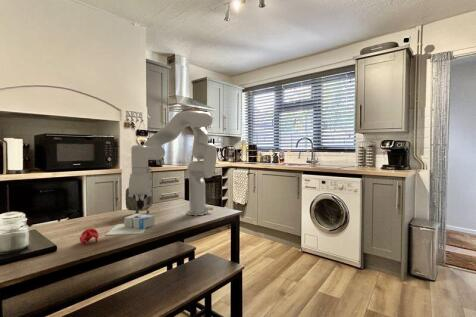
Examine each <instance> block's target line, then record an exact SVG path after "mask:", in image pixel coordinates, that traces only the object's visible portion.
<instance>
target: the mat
mask: <svg viewBox="0 0 476 317" xmlns="http://www.w3.org/2000/svg"><path fill="white" fill-rule="evenodd" d="M146 230H147V228H145V229H139V228H131V227H124V223H121V224H120V223H119V224H116V225H114V226H113V228H112V229H110V230H109V231H108V232H107V233H105V236H106V237H107V236H125V235H127V236H128V235H143V234H144V233H145V231H146Z"/></svg>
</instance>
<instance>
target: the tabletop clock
mask: <svg viewBox="0 0 476 317" xmlns="http://www.w3.org/2000/svg"><path fill="white" fill-rule="evenodd" d="M151 192H152V193H153V190H152V191H151ZM134 195H135V194H134ZM145 195H146V194H145ZM139 196H140V200H141V197H142V194H139ZM152 205H153V194H152V195H151V196H149V197H146V198H145V199H144V207H143V208H142V209H138V207H137V201H136V199H135V198H134V197H129V187H127V188H126V189H125V208H126V209H127V210H129V211H135V212H134V214H140V212H143V211H146V213H147V214H149V213H150V208H151V207H152Z"/></svg>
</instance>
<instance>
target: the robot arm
mask: <svg viewBox="0 0 476 317" xmlns="http://www.w3.org/2000/svg"><path fill="white" fill-rule="evenodd" d="M213 122H214V121H213V116H212V115H211V113H210V112H207V111H197V110H184V111H179V112H176V114H175V115H173V117H172V118H171V119H170V120H169V121H168V123H166V124H165V126H164V127H162V128H161V129H160V130H159V131H157V132H156V133H154V134H153V135H151V136H149V138H148V139H147V140H146V141H145V142H144V143H143V144H141V145H140V144H137V145H136V144H135V145H132V146H131V149H130V150H131V151H130V152H131V153H130V154H131V173H130V174H129V178H128V179H129V181H128V188H129V197H134V198H135V199H136V201H137V207H138V209H142V208H143V207H144V199H145V198H146V197H149V196H151V195H152V196H153V186H152V185H153V184H152V176H151V173H149V172H152V168H151V167H149V160H151V161H159V160H161V159H163V158H164V157H165V155H166V151H165V148H164V146H163V145H165V144H167V143H170V142H172V141H174V140H176V139H177V138H178V137H179V135H181V133H182V132H183V131H184V130H185V128H187V127H190V128H191V130H192V133H193V141H192V142H193V143H192V150H191V152H192V153H191V154H192V156H193V158H194V159H197V160H194V161H191V162H190V163H189V164H188V165H187V168H186V169H187V176H188V182H189V184H188V185H189V187H188V188H189V189H188V190H189V191H188V194H189V197H188V198H189V200H188V201H189V203H188V204H189V210H187V211H186V215H188V216H191V215H194V216H195V217H198V216H197V215H201V216H204V214H205V215H208V213H209V211H213V210H214V207H213V206H207V204H206V182H205V179H209V178H212V177H213V176H214V175H215V172H216V166H217V165H216V164H217V158H218V157H217V156H218V150H217V147H216V146H215V144H214V143H211V142H209V133H208V131H207V129H206V128H209V127H211V125H212V124H213ZM162 146H163V147H162ZM200 160H201V161H200ZM151 191H152V192H151ZM134 194H135V195H134ZM139 194H142V197H141V200H140V196H139ZM145 194H146V195H145ZM194 216H193V217H194Z"/></svg>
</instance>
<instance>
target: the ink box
mask: <svg viewBox="0 0 476 317" xmlns="http://www.w3.org/2000/svg"><path fill="white" fill-rule="evenodd" d="M155 223H156V222H155V214H154V215H152V214H150V215H149V214H143V213H142V214H141V213H139V214H135V213H134V214H131V215H128V216H125V217H124V222H123V224H124V227H131V228H139V229H145V228H146V229H147V228H150V227H152V226H154V225H155Z"/></svg>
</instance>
